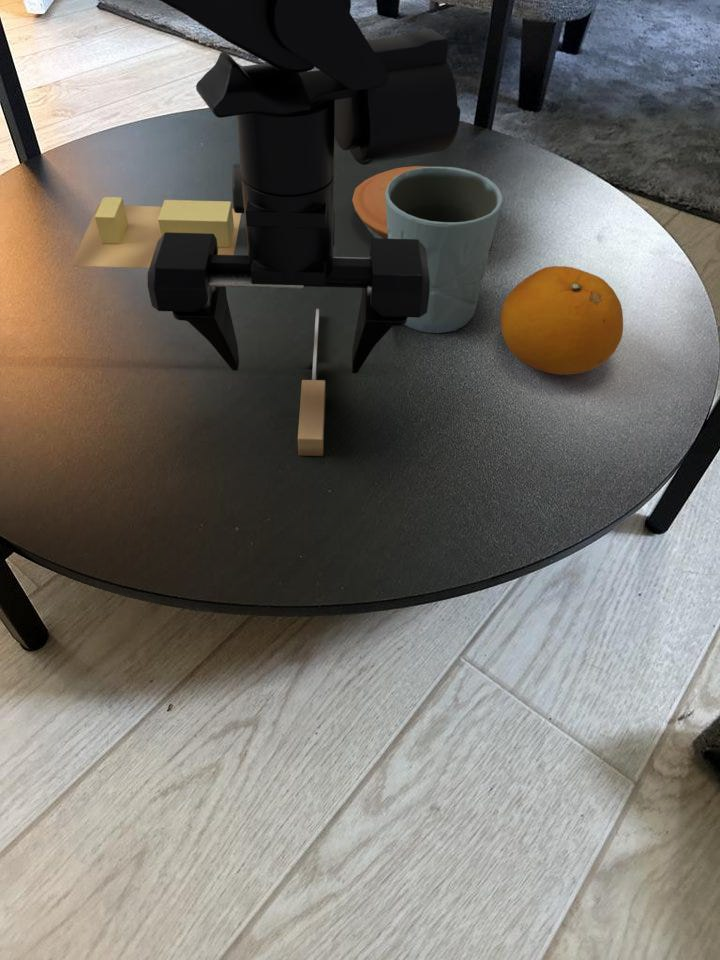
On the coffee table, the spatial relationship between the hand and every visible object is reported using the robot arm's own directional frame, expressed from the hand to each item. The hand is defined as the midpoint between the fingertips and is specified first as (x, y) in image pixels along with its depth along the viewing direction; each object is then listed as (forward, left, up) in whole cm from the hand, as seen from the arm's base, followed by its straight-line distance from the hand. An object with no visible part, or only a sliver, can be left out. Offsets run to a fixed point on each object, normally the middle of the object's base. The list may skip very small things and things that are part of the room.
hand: (295, 368), depth 57 cm
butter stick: (-12, +27, -5) cm, 29 cm away
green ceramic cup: (+12, +17, -6) cm, 22 cm away
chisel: (+1, +5, -6) cm, 8 cm away
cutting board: (-16, +27, -6) cm, 32 cm away
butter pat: (-21, +27, -5) cm, 34 cm away
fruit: (+23, +10, -6) cm, 26 cm away
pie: (+12, +31, -6) cm, 34 cm away
